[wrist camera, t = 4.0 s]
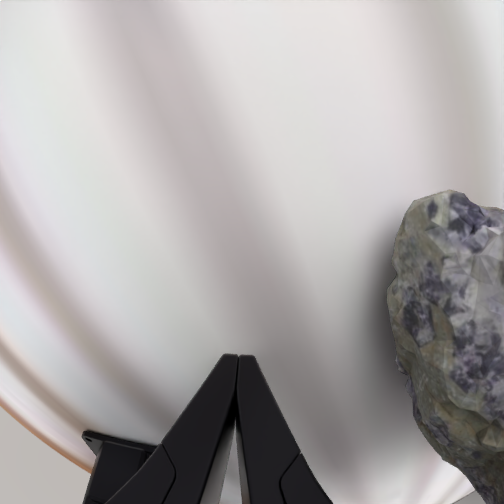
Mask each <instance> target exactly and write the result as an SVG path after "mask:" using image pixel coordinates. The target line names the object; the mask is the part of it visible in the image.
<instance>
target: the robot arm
mask: <svg viewBox="0 0 504 504" xmlns="http://www.w3.org/2000/svg"><path fill="white" fill-rule="evenodd" d="M235 420H236V440H237V452H238V464H239V475H240V485H241V496H242V504H333V502H332V501H331V500H330V499H329V497H328V496H327V494H326V493H325V492H324V490H323V489H322V487H321V486H320V484H319V483H318V481H317V480H316V478H315V476H314V475H313V473H312V471H311V469H310V468H309V466H308V464H307V462H306V460H305V458H304V456H303V454H302V453H300V452H301V451H300V449H299V447H298V445H297V443H296V441H295V439H294V437H293V435H292V433H291V431H290V429H289V427H288V425H287V423H286V421H285V419H284V417H283V415H282V413H281V411H280V409H279V406H278V404H277V402H276V400H275V398H274V396H273V394H272V392H271V390H270V388H269V386H268V384H267V382H266V379H265V377H264V375H263V373H262V371H261V369H260V367H259V365H258V362H257V360H256V358H255V357H254V356H253V355H240V356H238V355H237V354H223V355H222V357H221V358H220V360H219V361H218V362H217V364H216V365H215V367H214V368H213V370H212V371H211V373H210V374H209V375H208V377H207V378H206V380H205V381H204V383H203V384H202V385H201V387H200V388H199V390H198V391H197V393H196V394H195V395H194V397H193V398H192V400H191V401H190V403H189V404H188V405H187V407H186V408H185V410H184V411H183V412H182V414H181V415H180V417H179V418H178V419H177V421H176V422H175V424H174V425H173V426H172V428H171V429H170V430H169V432H168V433H167V435H166V436H165V437H164V439H163V440H162V442H161V443H162V444H159V445H158V447H152V446H146V445H141V444H136V443H132V442H127V441H123V440H119V439H115V438H111V437H107V436H103V435H99V434H95V433H92V432H88V431H84V432H83V434H82V438H83V440H84V441H85V442H86V444H87V445H88V446H89V447H90V449H91V450H92V451H93V453H94V454H95V455H96V456H97V457H96V460H95V464H94V467H93V470H92V473H91V476H90V480H89V483H88V486H87V490H86V494H85V497H84V501H83V504H219V501H220V496H221V491H222V487H223V482H224V477H225V473H226V468H227V463H228V458H229V454H230V449H231V444H232V439H233V434H234V429H235Z"/></svg>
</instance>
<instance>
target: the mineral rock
mask: <svg viewBox="0 0 504 504" xmlns="http://www.w3.org/2000/svg"><path fill="white" fill-rule="evenodd" d="M391 263H392V265H393V267H394V268H395V270H396V272H397V275H396V277H395V279H394V280H393V282H392V283H391V285H390V286H389V287H388V289H387V304H388V308H389V315H390V322H391V328H392V332H393V335H394V339H395V344H396V352H397V356H396V359H395V361H396V363H397V364H398V371H400V372H402V373H404V374H406V375H409V379H408V382H407V384H406V386H405V387H406V389H407V391H408V393H409V394H410V396H411V397H412V399H413V416H414V418H415V420H416V422H417V425H418V427H419V429H420V430H421V432H422V433H423V435H424V436H425V438H426V439H427V441H428V442H429V443H430V445H431V446H432V447H433V448H434V450H435V451H436V452H437V453H438V454H439V455H440V456H441V457H442V460H444V461H446V462H448V463H450V464H451V465H453V466H455V467H457V468H458V469H459V470H460V471H461V472H462V473H463V474H464V475H465V476H466V477H467V478H468V480H469V481H470V482H471V484H472V485H473V487H474V488H475V490H476V491H477V492H478V493H479V494H480V495H481V497H482V498H483V500H484V501H485V502H486V504H504V210H502V209H499V208H497V207H484V206H478V205H476V204H474V203H472V202H470V200H469V199H468V198H467V197H466V195H465V194H464V193H460V192H456V191H453V190H447V191H443V192H440V193H437V194H433V195H430V196H427V197H424V198H421V199H418V200H414V201H413V203H412V204H411V206H410V207H409V209H408V210H407V211H406V213H405V216H404V218H403V221H402V224H401V226H400V229H399V231H398V234H397V237H396V239H395V246H394V252H393V257H392V262H391Z"/></svg>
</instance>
